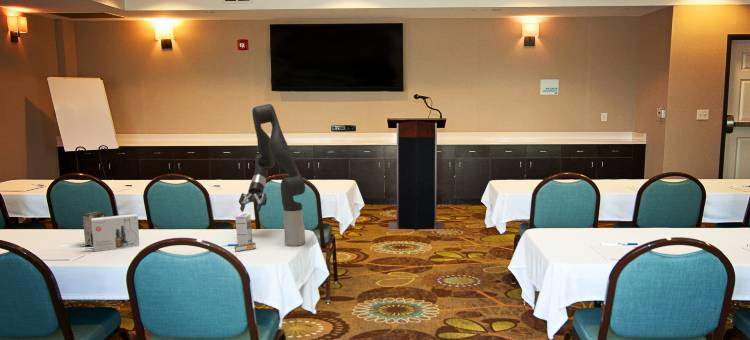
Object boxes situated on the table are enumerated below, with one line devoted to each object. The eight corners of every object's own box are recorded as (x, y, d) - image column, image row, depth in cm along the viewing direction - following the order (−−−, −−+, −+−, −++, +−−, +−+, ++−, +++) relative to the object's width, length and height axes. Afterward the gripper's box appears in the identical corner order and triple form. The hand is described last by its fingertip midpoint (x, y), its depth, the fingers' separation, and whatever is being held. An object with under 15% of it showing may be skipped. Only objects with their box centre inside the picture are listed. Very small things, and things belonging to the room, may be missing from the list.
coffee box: (101, 241, 313) (99, 211, 311) (108, 242, 310) (105, 212, 308) (84, 245, 306) (81, 214, 304) (91, 246, 302) (88, 215, 300)
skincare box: (94, 252, 291) (91, 220, 289) (93, 249, 296) (90, 218, 294) (140, 246, 301) (137, 215, 299) (138, 243, 306) (136, 213, 304)
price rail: (254, 247, 291) (254, 242, 291) (256, 248, 289) (256, 243, 289) (234, 251, 286) (234, 246, 285) (236, 252, 284) (236, 247, 284)
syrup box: (247, 244, 298) (246, 215, 296) (236, 244, 299) (235, 215, 297) (252, 241, 304) (250, 213, 302) (241, 241, 305) (239, 213, 303)
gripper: (242, 181, 315) (234, 206, 306) (268, 181, 312) (260, 207, 303) (247, 189, 321) (239, 214, 312) (272, 189, 318) (264, 215, 309)
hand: (249, 211), depth 307 cm, fingers open, 8 cm apart
